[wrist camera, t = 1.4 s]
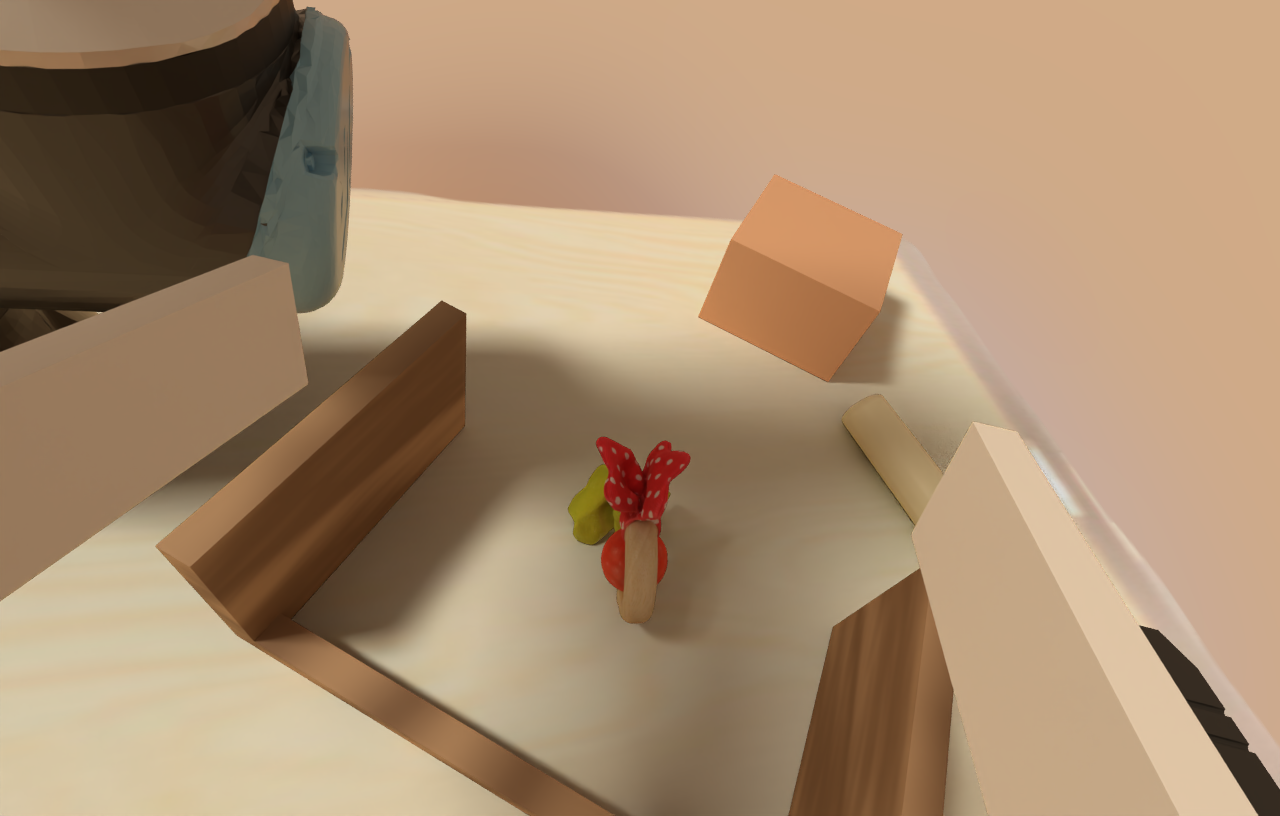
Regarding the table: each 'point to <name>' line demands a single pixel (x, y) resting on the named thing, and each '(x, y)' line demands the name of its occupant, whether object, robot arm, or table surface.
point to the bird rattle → (629, 520)
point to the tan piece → (894, 453)
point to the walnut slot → (288, 577)
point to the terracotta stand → (802, 278)
